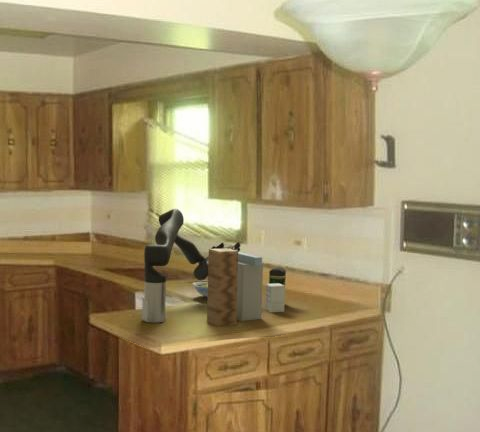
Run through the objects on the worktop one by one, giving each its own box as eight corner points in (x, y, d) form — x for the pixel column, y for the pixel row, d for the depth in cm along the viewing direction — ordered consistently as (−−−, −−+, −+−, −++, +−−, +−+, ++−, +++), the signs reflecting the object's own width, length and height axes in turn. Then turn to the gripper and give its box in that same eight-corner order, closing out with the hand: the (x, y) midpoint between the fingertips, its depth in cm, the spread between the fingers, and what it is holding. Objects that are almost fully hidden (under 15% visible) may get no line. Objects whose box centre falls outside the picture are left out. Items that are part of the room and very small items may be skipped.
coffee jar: (282, 307, 357) (283, 269, 356) (266, 306, 359) (267, 268, 358) (286, 303, 367) (287, 266, 365) (270, 302, 369) (271, 265, 367)
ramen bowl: (199, 303, 361) (200, 286, 361) (184, 295, 382) (184, 279, 381) (245, 300, 372) (246, 284, 371) (228, 293, 392) (228, 277, 392)
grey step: (242, 320, 324) (243, 264, 322) (228, 315, 334) (230, 261, 332) (261, 318, 329) (263, 263, 327) (247, 313, 339) (249, 260, 338)
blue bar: (255, 265, 320) (255, 257, 320) (228, 258, 341) (228, 251, 340) (261, 265, 322) (262, 257, 322) (234, 258, 342) (234, 250, 342)
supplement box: (278, 309, 353) (279, 283, 352) (284, 312, 346) (285, 285, 345) (264, 309, 350) (265, 283, 349) (269, 312, 343) (270, 286, 342)
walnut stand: (217, 326, 311) (219, 251, 309) (206, 321, 320) (208, 249, 317) (236, 324, 316) (238, 251, 313) (224, 320, 324) (226, 248, 322)
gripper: (201, 251, 352) (216, 237, 340) (227, 250, 359) (242, 236, 347) (205, 265, 350) (219, 252, 337) (231, 264, 357) (246, 251, 344)
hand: (231, 244), depth 342 cm, fingers open, 8 cm apart
